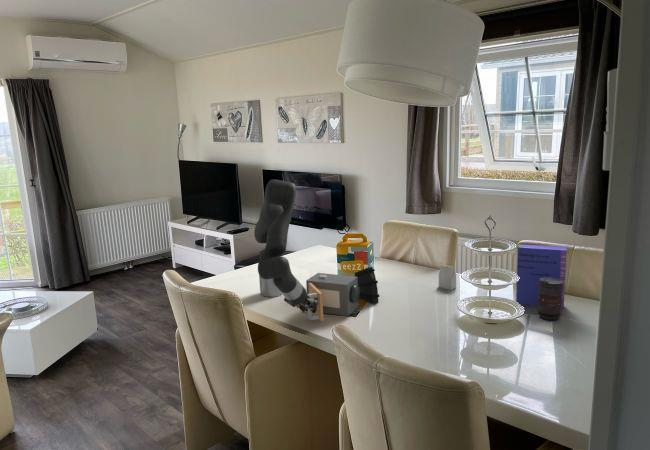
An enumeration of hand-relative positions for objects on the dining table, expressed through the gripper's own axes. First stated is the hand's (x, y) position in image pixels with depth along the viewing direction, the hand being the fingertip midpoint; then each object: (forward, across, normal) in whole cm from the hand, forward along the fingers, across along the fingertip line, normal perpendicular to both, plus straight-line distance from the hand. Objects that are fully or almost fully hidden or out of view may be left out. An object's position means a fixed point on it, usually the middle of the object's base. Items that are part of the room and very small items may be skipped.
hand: (309, 310), depth 195 cm
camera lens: (+27, -83, -20) cm, 90 cm away
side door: (+5, +1, 0) cm, 5 cm away
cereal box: (+37, -79, -30) cm, 93 cm away
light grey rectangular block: (+44, -40, -37) cm, 70 cm away
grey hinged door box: (+15, -2, -8) cm, 17 cm away
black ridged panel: (+26, -11, -18) cm, 34 cm away
